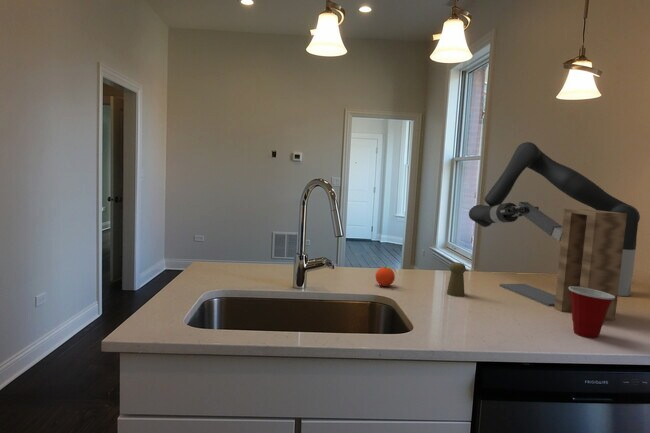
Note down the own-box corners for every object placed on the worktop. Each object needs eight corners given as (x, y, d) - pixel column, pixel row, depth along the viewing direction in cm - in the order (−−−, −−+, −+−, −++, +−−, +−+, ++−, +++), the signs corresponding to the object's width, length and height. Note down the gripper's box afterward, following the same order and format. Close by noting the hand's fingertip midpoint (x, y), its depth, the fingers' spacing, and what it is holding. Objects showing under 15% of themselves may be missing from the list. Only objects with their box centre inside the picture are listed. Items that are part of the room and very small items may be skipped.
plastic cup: (620, 342, 114) (625, 296, 113) (580, 341, 113) (585, 295, 112) (592, 327, 125) (596, 285, 124) (555, 326, 124) (559, 284, 123)
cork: (467, 294, 154) (470, 263, 153) (459, 297, 150) (462, 265, 149) (451, 290, 159) (454, 260, 158) (443, 293, 154) (445, 262, 153)
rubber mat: (524, 285, 172) (524, 283, 172) (576, 305, 147) (577, 303, 147) (499, 285, 170) (499, 283, 170) (548, 306, 145) (548, 303, 144)
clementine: (391, 283, 166) (392, 264, 165) (400, 287, 159) (401, 268, 159) (371, 283, 163) (372, 264, 163) (379, 288, 157) (381, 268, 156)
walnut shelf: (583, 307, 145) (593, 209, 142) (614, 319, 133) (626, 213, 130) (554, 308, 142) (564, 208, 139) (584, 321, 131) (595, 212, 128)
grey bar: (524, 210, 167) (527, 202, 166) (567, 241, 146) (570, 232, 145) (516, 210, 167) (519, 201, 165) (557, 241, 145) (561, 232, 144)
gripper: (487, 203, 176) (515, 198, 159) (519, 204, 179) (549, 199, 162) (488, 222, 175) (515, 219, 159) (520, 222, 178) (550, 220, 161)
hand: (532, 209), depth 160 cm, fingers closed on grey bar, 3 cm apart
